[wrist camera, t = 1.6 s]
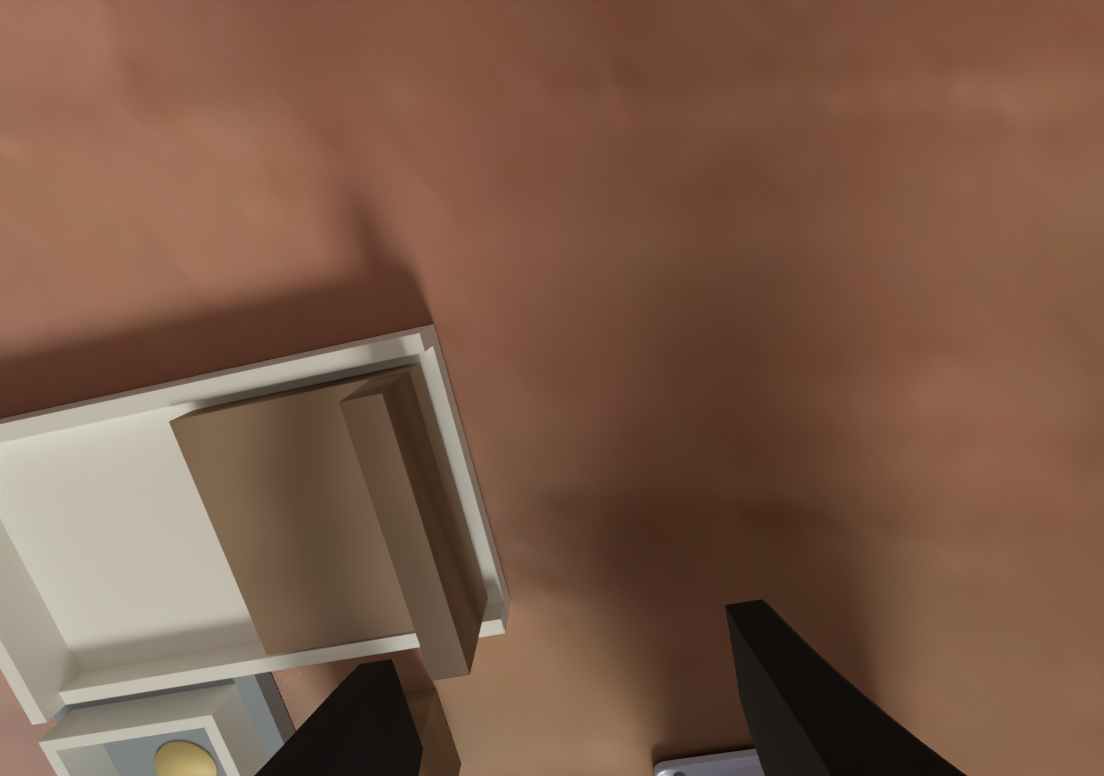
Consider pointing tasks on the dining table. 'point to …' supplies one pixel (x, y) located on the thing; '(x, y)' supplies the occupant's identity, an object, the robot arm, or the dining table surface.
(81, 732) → the socket board
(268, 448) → the cover
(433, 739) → the walnut pin
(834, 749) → the robot arm
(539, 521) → the dining table surface
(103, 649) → the board
